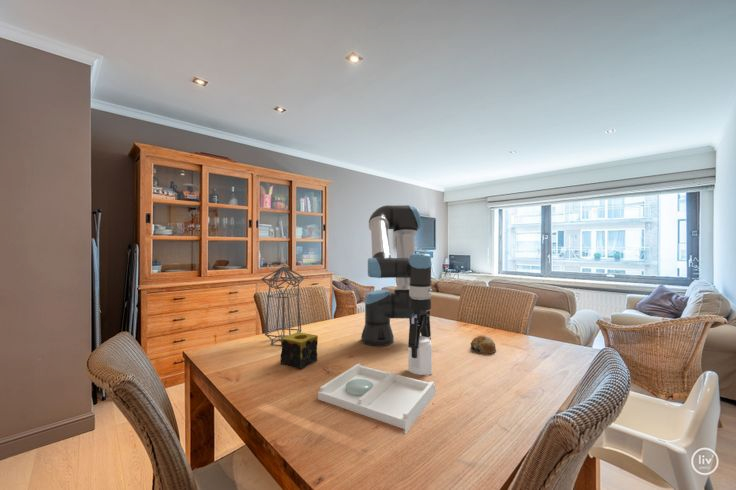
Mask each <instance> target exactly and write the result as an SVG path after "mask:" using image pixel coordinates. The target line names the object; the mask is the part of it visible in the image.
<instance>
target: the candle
mask: <svg viewBox="0 0 736 490" xmlns="http://www.w3.org/2000/svg"><path fill="white" fill-rule="evenodd" d="M288 335H289V334H288ZM318 338H319V337H318V335H316V334H311V333H305V332H302V331H301V332H299V331H298V332H297V331H296V332H294V333H292V334H291V335H289V336H286V337H283V338H280V339H281V341H280V345H281V346H280V347H281V351H280V363H279V364H280V365H281V366H285V367H289V368H295V369H298V370H302V369H305V368H307V367H309V366H310V365H311V364H313V363H315V362H317V361H318V342H319V341H318Z"/></svg>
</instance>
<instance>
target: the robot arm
mask: <svg viewBox="0 0 736 490" xmlns="http://www.w3.org/2000/svg"><path fill="white" fill-rule="evenodd" d="M421 221H422V219H421V214H420V210H419V208H418V206H416V205H410V204H407V205H402V204H401V205H400V204H399V205H389V204H388V205H383V206H380V207H378V208H376V209H375V211H374V212H372V214H371V215H370V217H369V220H368V228H369V230H370V233H371V234H370V235H371V257H370V258H368V259H367V276H368V277H369V278H375V279H376V278H377V279H379V278H380V279H383V278H386V279H387V278H388V279H389V278H391V279H392V278H393V279H394V278H397V281H396V283H397V285H396V287H395V288H394V292H393V293H392V292H391V291H390V290H389V289H377V290H373V291H369V292H368V293H366V295H365V300H364V305H365V306H364V307H365V308H364V311H365V312H364V313H365V314H364V327H363V330H362V333H361V336H360V339H361V340H360V341H361V343H363V344H365V345H368V346H374V347H375V346H376V347H380V346H381V347H382V346H389V345H391V344H393V343H394V342H395V341H394V340H395V338H394V337H395V336H394V333H393V330H392V327H391V319H409V328H408V329H409V330H408V342H407V344H408V345H407V348H409V347H410V348H411V366H412V367H417V368H419V367H420V348H418V346H419V339H420V336H425V337H428V338H430V341H431V340H432V337H431V336H432V332H431V318H430V317H431V311H430V310H431V309H432V299H431V297H432V292H433V289H432V256H431V254H429V253H416V252H415V251H416V250H415V249H416V248H415V247H416V246H415V236H416V234H417V233H418V230H420V229H421V225H422V222H421ZM389 230H393V234H394V235H395V236H396V257H392V255H391V254H392V253H391V248H390V247H391V245H390V238H389Z"/></svg>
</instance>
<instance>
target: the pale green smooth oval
mask: <svg viewBox="0 0 736 490" xmlns="http://www.w3.org/2000/svg"><path fill="white" fill-rule="evenodd" d="M371 388H373V383H372V382H371V381H368V380H365V379H355V380H351V381H349V382H348V383H347V384H346V392H347V393H348V394H350V395H353V396H363V395H364V394H365V393H366V392H368V391H369V390H370V389H371Z"/></svg>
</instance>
